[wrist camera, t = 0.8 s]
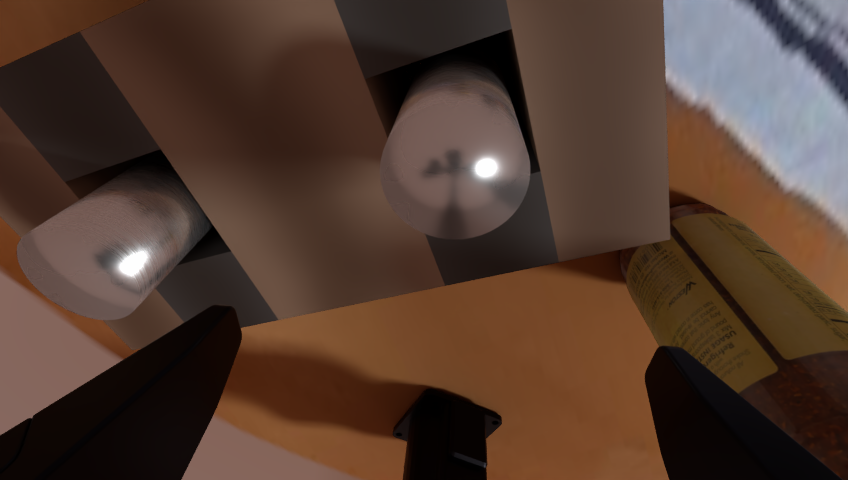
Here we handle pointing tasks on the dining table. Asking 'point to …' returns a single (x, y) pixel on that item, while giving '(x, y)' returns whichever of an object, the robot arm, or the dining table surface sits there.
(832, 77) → the dining table surface
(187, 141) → the walnut block
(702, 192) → the dining table surface
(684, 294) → the sauce bottle
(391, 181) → the peg
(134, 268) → the peg
